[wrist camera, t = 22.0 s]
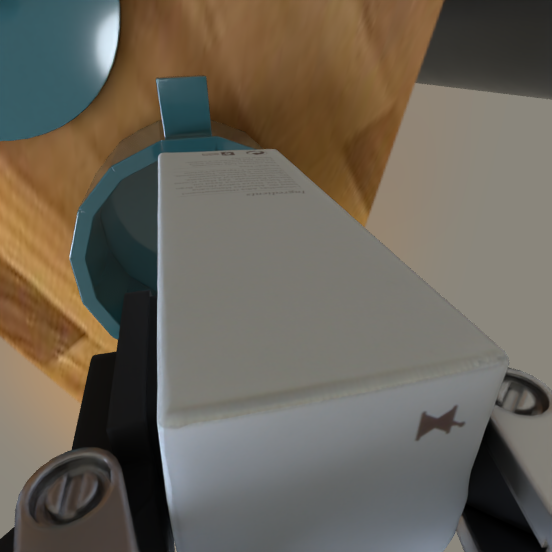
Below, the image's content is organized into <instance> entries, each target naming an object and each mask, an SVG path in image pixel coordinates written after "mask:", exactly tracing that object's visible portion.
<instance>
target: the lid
mask: <svg viewBox="0 0 552 552" xmlns="http://www.w3.org/2000/svg"><path fill="white" fill-rule="evenodd" d="M120 29H121V6H120V0H0V141H13V140H21V139H28V138H32V137H36V136H39V135H43V134H46V133H48V132H51V131H53V130H55V129H57V128H60V127H62V126H63V125H65V124H66V123H68V122H70V121H71V120H73V119H74V118H76V117H77V116H78V115H79V114H80V113H81V112H83V111H84V110H85V109H86V108H87V107H88V106H89V105H90V104H91V103H92V101H93V100H94V99H95V98H96V97H97V95H98V94H99V93H100V91H101V89H102V88H103V86H104V84H105V83H106V81H107V79H108V77H109V74H110V72H111V70H112V67H113V65H114V61H115V57H116V54H117V50H118V45H119V37H120Z"/></svg>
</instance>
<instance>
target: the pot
mask: <svg viewBox="0 0 552 552" xmlns="http://www.w3.org/2000/svg"><path fill="white" fill-rule="evenodd" d="M156 84H157V91H158V98H159V104H160V111H161V117H162V120H160V121H157V122H156V123H154V124H151V125H149V126H147V127H145V128H142V129H140V130H139V131H137V132H135V133H134V134H132V135H131V136H129V137H127V138H125V139H123V140H122V141H121V142H119V144H118V145H117V146H116V148H115V149H114V150H113V152H112V153H111V154H110V155H109V156H108V158H107V159H106V161H105V162H104V164H103V165H102V166H101V168H100V169H99V170H98V172H97V173H96V175H95V177H94V179H93V181H92V183H91V185H90V187H89V189H88V191H87V193H86V195H85V197H84V199H83V201H82V203H81V205H80V207H79V209H78V212H77V218H76V223H75V229H74V234H73V239H72V245H71V250H70V256H69V257H70V263H71V266H72V269H73V273H74V276H75V280H76V283H77V286H78V290H79V293H80V296H81V300H82V302H83V304H84V305H85V306H86V308H87V309H88V310H89V311H90V312H91V313H92V314H93V316H94V317H95V318H96V319H97V320H98V321H99V322H100V323H101V325H102V326H103V327H104V328H105V329H106V330H107V331H108V332H109V334H110V335H111V336H113V338H115V339H117V340H118V338H119V330H120V323H121V316H122V308H123V301H124V295H125V293H130V292H138V291H146V290H150V291H151V295H152V296H155V295H158V284H157V283H158V156H159V154H161V153H178V152H207V151H226V150H261V149H263V148H262V147H261V146H260V145H259V144H258V143H256V142H255V141H254V140H253V139H252V138H251V137H250V136H249V135H248V134H247V133H245V132H244V131H241V130H238V129H236V128H233V127H231V126H228V125H226V124H224V123H220V122H216V121H213V120H211V119H210V109H209V98H208V88H207V78H206V76H204V75H194V76H173V77H157V78H156Z"/></svg>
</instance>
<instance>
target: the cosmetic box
mask: <svg viewBox="0 0 552 552" xmlns="http://www.w3.org/2000/svg"><path fill="white" fill-rule="evenodd" d="M157 284H158V298H157V382H158V389H157V426H158V434H159V442H160V450H161V458H162V466H163V474H164V482H165V489H166V497H167V503H168V509H169V515H170V520H171V526H172V532H173V537H174V542H175V546H176V550H177V552H443V551H444V549H445V548H446V547H447V545H448V544H449V542H450V541H451V539H452V538H453V536H454V534H455V532H456V529H457V526H458V523H459V519H460V517H461V515H462V512H463V510H464V507H465V504H466V501H467V497H468V485H469V479H470V473H471V469H472V467H473V464H474V461H475V458H476V456H477V453H478V450H479V447H480V444H481V441H482V438H483V435H484V432H485V429H486V426H487V424H488V421H489V418H490V416H491V413H492V410H493V408H494V405H495V402H496V399H497V396H498V393H499V391H500V388H501V385H502V382H503V379H504V377H505V374H506V371H507V369H508V366H509V358H508V356H507V354H506V352H505V351H504V350H503V349H502V348H500V347H499V346H498V345H497V344H496V343H495V342H494V341H492V340H491V339H490V338H489V337H488V336H487V335H486V334H485V333H484V332H482V331H481V330H480V329H479V328H478V327H477V326H476V325H475V324H473V323H472V322H471V321H470V320H468V318H466V317H465V316H464V315H463V314H462V313H461V312H460V311H459V310H457V309H456V308H455V307H454V306H453V305H452V304H450V303H449V302H448V301H447V300H446V299H445V298H443V297H442V296H441V295H440V294H439V293H438V292H436V291H435V290H434V289H433V288H432V287H431V286H430V285H429V284H428V283H426V282H425V281H424V280H423V279H422V278H421V277H420V276H419V275H417V274H416V273H415V272H414V271H413V270H411V268H409V267H408V266H407V265H406V264H405V263H404V262H403V261H401V260H400V259H399V258H398V257H397V256H396V255H395V254H394V253H393V252H392V251H391V250H389V249H388V248H387V247H386V246H385V245H383V243H381V242H380V241H379V240H378V239H377V238H376V237H375V236H373V235H372V234H371V233H370V232H369V231H368V230H367V229H365V228H364V227H363V226H362V225H361V224H360V223H359V222H358V221H357V220H355V219H354V218H353V217H352V216H351V215H350V214H349V213H348V212H347V211H345V210H344V209H343V208H342V207H341V206H340V205H338V204H337V203H336V202H335V201H334V200H333V199H332V198H331V197H330V196H328V195H327V194H326V193H325V192H324V191H323V190H322V189H320V188H319V187H318V186H317V185H316V184H315V183H314V182H313V181H311V180H310V179H309V178H308V177H307V176H306V175H304V174H303V173H302V172H301V171H300V170H299V169H298V168H297V167H296V166H294V165H293V164H292V163H291V162H290V161H289V160H288V159H287V158H286V157H284V156H283V155H282V154H281V153H280V152H279V151H277V150H276V149H261V150H226V151H207V152H178V153H161V154H159V156H158V283H157Z"/></svg>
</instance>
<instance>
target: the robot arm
mask: <svg viewBox="0 0 552 552" xmlns="http://www.w3.org/2000/svg"><path fill="white" fill-rule="evenodd" d="M157 298H158V295H155V296H152V295H151V291H150V290H146V291H138V292H130V293H125V295H124V301H123V308H122V316H121V323H120V330H119V338H118V345H117V352H111V353H105V354H98V355H94V356H93V357H92V359H91V362H90V367H89V371H88V376H87V381H86V385H85V390H84V395H83V399H82V404H81V409H80V413H79V418H78V422H77V427H76V432H75V436H74V441H73V446H72V450H71V451H68V452H65V453H64V454H61V455H59V456H57V457H55V458H53V459H51V460H50V461H49V462H47V463H46V464H44V465H43V466H42V467H40V468H39V469H38V470H37V471H36V472H35V473H34V474H33V475H32V476H31V477H30V478H29V480H28V481H27V482H26V484H25V486H24V487H23V489H22V491H21V492H20V494H19V497H18V501H17V505H16V510H15V527H14V528H12V529H11V530H10V531H9V532H8V533H7V534H6V535H4V536H3V537H2V538H1V539H0V552H175V548H174V537H173V532H172V526H171V520H170V515H169V509H168V503H167V497H166V489H165V482H164V474H163V466H162V458H161V450H160V442H159V434H158V426H157V389H158V382H157ZM456 532H457V535H458V537H459V540H460V542H461V544H462V547H463V550H464V552H552V390H551V389H550V388H549V387H548V386H547V385H546V384H545V383H543V382H542V381H540V380H539V379H537V378H535V377H534V376H532V375H530V374H527V373H525V372H522V371H520V370H516V369H512V368H508V369H507V371H506V374H505V377H504V379H503V382H502V385H501V388H500V391H499V393H498V396H497V399H496V402H495V405H494V408H493V410H492V413H491V416H490V418H489V421H488V424H487V426H486V429H485V432H484V435H483V438H482V441H481V444H480V447H479V450H478V453H477V456H476V458H475V461H474V464H473V467H472V469H471V473H470V479H469V485H468V497H467V501H466V504H465V507H464V510H463V512H462V515H461V517H460V519H459V523H458V526H457V529H456Z"/></svg>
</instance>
